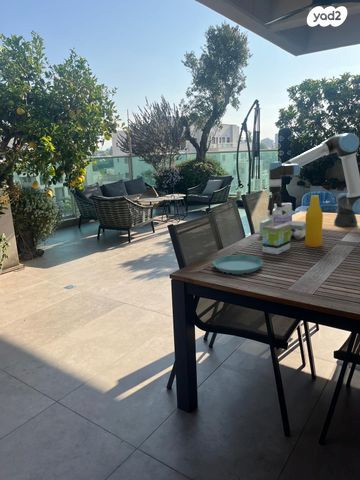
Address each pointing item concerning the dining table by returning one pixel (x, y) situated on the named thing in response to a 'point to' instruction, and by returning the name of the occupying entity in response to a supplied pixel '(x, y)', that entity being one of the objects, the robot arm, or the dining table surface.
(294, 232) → the roller bed
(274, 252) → the tea box
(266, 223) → the block
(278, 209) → the roller
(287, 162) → the robot arm
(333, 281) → the dining table surface
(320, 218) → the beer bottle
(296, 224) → the stone slab
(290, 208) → the candy box
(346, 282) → the dining table surface
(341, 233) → the dining table surface
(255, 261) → the saucer
